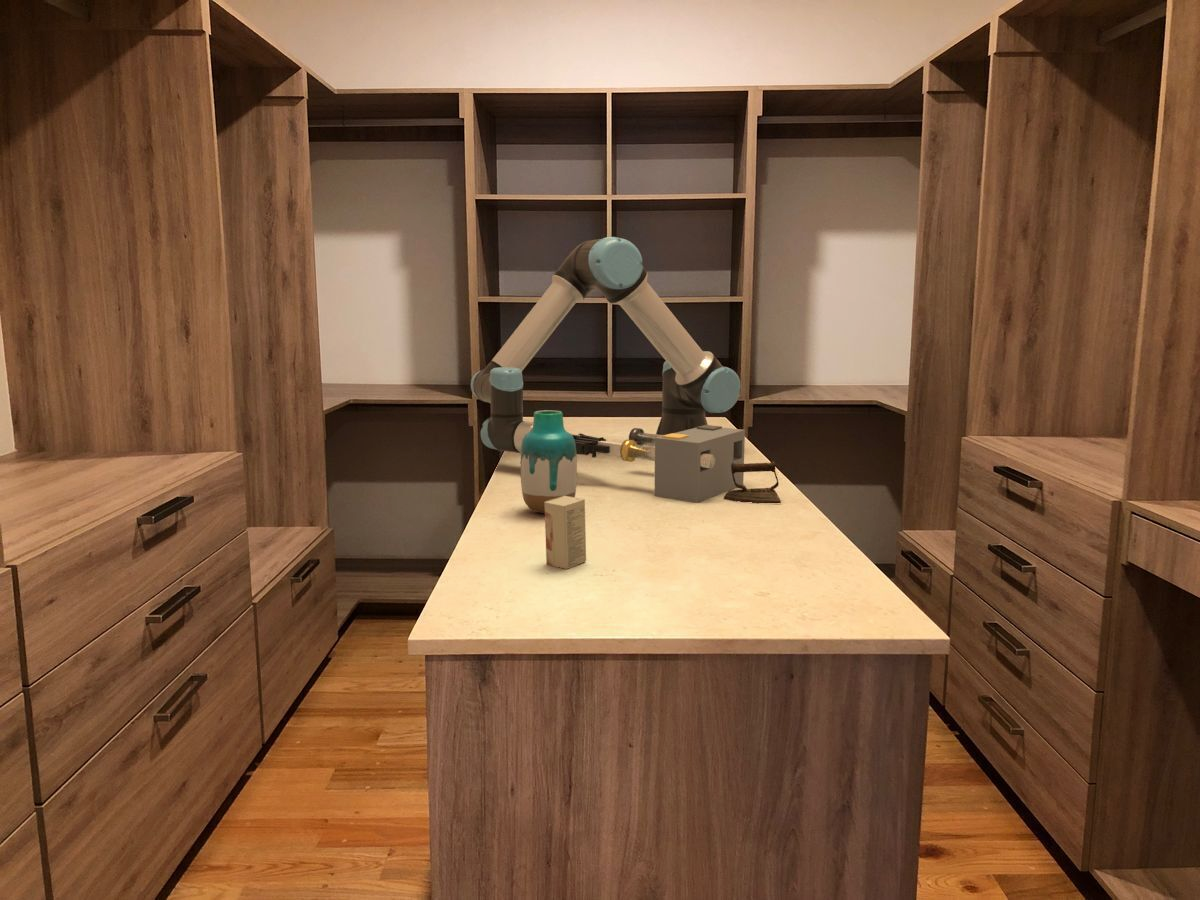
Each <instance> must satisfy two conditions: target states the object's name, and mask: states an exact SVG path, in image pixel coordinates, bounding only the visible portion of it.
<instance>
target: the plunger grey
mask: <svg viewBox="0 0 1200 900" xmlns="http://www.w3.org/2000/svg"><path fill="white" fill-rule="evenodd" d="M661 436H663V435H657V434H656V433H647V432H645V431H644V429H643V428H640V427H633V428H632V429H631V430H630V432H629V435H628V440H634V441H636V443H637V445H640V446H648V447H655V438H657V437H661Z"/></svg>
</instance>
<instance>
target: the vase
mask: <svg viewBox="0 0 1200 900" xmlns="http://www.w3.org/2000/svg"><path fill="white" fill-rule="evenodd" d="M532 422H533V428H532V431H531V432H529V433H527V434H526V435H525V436H524V438H523V440H522V445H521V453H520V484H521V493H522V494H521V495H522V498H523V501H524V503H525V505H526V506H527V507H528V508H529V509H530V510H532V511H534V512H536V513H543V514H545V504H544V502H546V501H549V500H552V499H555V498H559V497H562V496H570V497H575V498H576V492H577V482H578V481H577V480H578V458H577V455H578V454H577V453H576V444H575V440H574V438H573V436H572V435H573V434H572V433H570V432H569V431H567V430H566V429H565V425H564V424H565V423H564V414H563V412H562V411H561V410H552V409H551V410H549V409H548V410H547V409H544V410H536V411H534V412H533V421H532ZM571 434H572V435H571Z"/></svg>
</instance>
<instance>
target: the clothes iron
mask: <svg viewBox="0 0 1200 900" xmlns="http://www.w3.org/2000/svg"><path fill="white" fill-rule="evenodd" d="M731 472H732V476H733V481H734V483H735V485H736V488H738V489H731V490H728V491H726V492H725V494H724V496H723V499H724V500H727V501H732V502H737V501H740V502H739V503H746V502H752V503H751V504H759V503H782V502H781V498H780V496H779V494H778V493H777V491H776V490H775V489H776V488H778V487H779V484H780V483H779V480H778V476H777V475H778V474H777V472H776V462H775V461H773V460H772V461H771V462H755V463H753V462H751V463H744V464H734V463H732V464H731ZM736 472H744V473H752V472H753V473H754V472H757V473H758V472H759V473H760V472H772V473H773V474H774V475H775V476H774V477H775V479H776V483H775V484H773V485H772V486H771V487H764V488H763V487H761V488H759V487H758V488H756V487H755V488H747V487H746V486H745V485H744V484H743V485H739V484H737V483H736V482H735V478H734V473H736Z"/></svg>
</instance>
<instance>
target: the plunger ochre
mask: <svg viewBox="0 0 1200 900" xmlns="http://www.w3.org/2000/svg"><path fill="white" fill-rule="evenodd" d="M620 455H621V457H620V458H621V460H622V461H624V462H626V463H627V462H629V463H632V462H634V461H635V460H636V459H638V460H645V461H652V462H653V461H654V462H655V447H653V446H645V445H643V446H640V445H637V443H636V441H634V440H629V439H625V440H624V441H623V442H622V445H621V449H620ZM714 463H715V457H714V455H712V454H704V453H701V459H700V467H703V468H713V466H714Z"/></svg>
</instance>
